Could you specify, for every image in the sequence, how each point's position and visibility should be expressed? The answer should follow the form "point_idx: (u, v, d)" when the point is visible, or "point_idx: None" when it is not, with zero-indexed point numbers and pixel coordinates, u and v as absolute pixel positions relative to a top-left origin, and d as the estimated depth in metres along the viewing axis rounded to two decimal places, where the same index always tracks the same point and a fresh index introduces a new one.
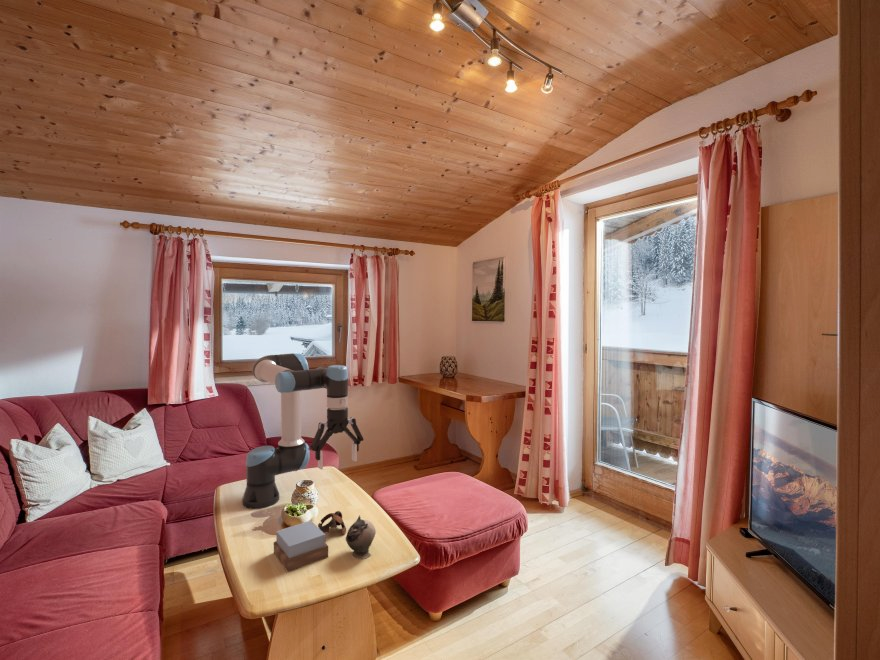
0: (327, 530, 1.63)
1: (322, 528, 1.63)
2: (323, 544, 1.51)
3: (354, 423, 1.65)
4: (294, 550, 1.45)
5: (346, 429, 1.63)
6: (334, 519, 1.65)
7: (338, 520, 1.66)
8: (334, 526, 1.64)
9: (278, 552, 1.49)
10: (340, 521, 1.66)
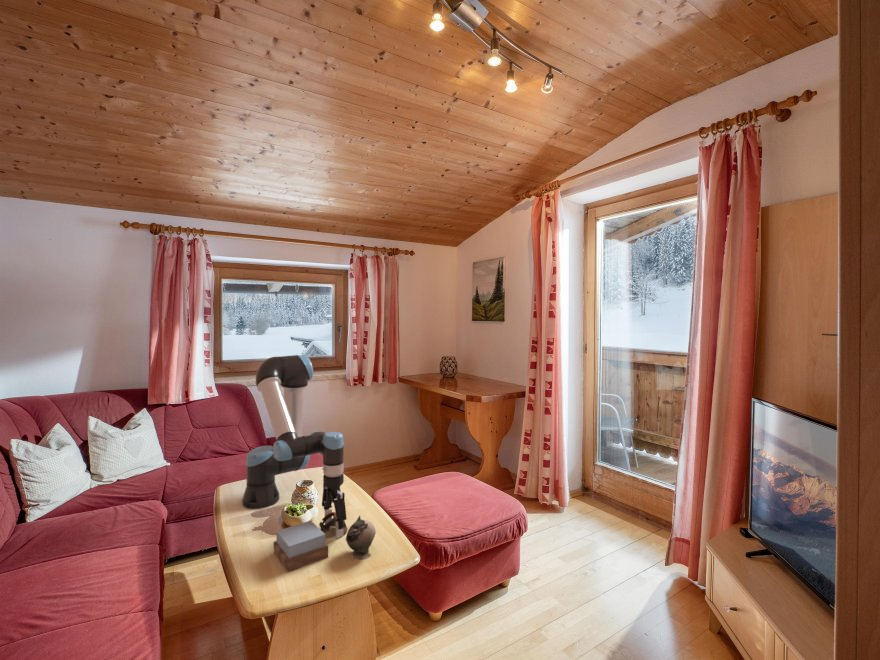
0: (328, 529, 1.63)
1: (323, 527, 1.64)
2: (323, 544, 1.51)
3: (337, 498, 1.62)
4: (294, 550, 1.45)
5: (332, 498, 1.65)
6: (335, 518, 1.66)
7: None
8: (335, 525, 1.64)
9: (278, 552, 1.49)
10: None
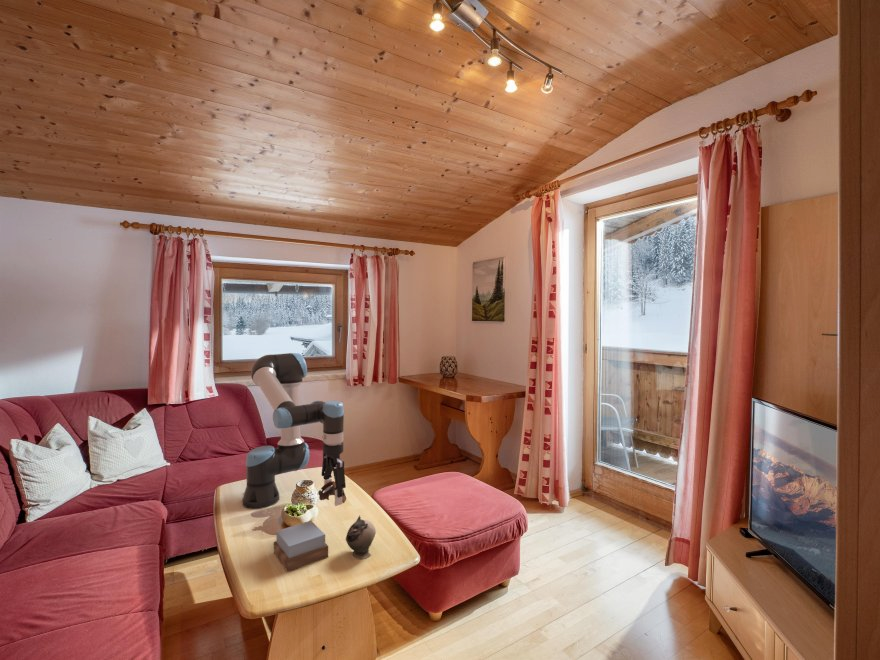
0: (326, 497, 1.63)
1: (322, 495, 1.64)
2: (323, 544, 1.51)
3: (337, 467, 1.62)
4: (294, 550, 1.45)
5: (331, 467, 1.65)
6: (334, 487, 1.66)
7: None
8: (334, 493, 1.64)
9: (278, 552, 1.49)
10: None
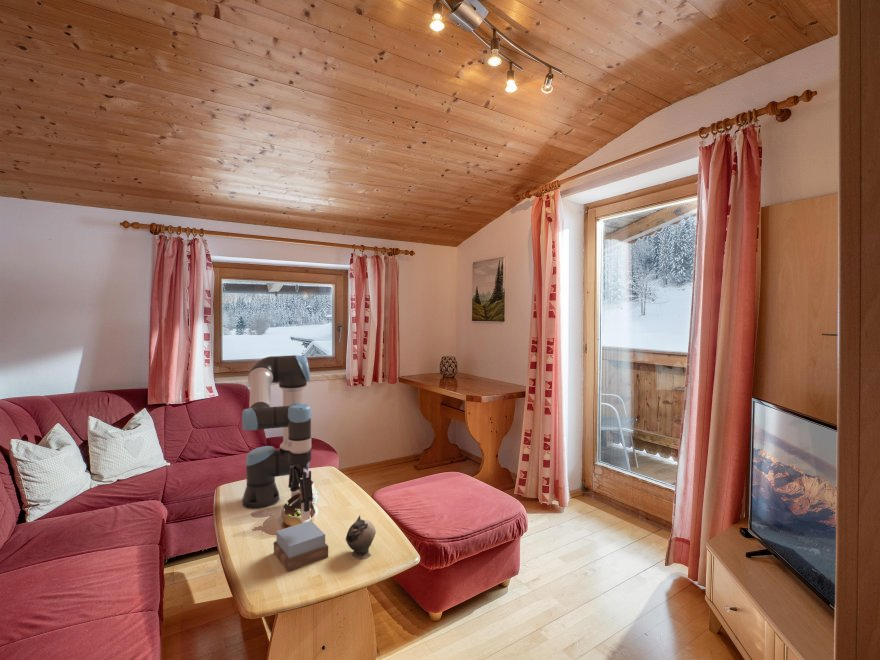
0: (292, 511, 1.47)
1: (287, 509, 1.47)
2: (323, 544, 1.51)
3: (303, 477, 1.46)
4: (294, 550, 1.45)
5: (297, 477, 1.48)
6: (301, 499, 1.49)
7: None
8: (300, 507, 1.47)
9: (278, 552, 1.49)
10: None
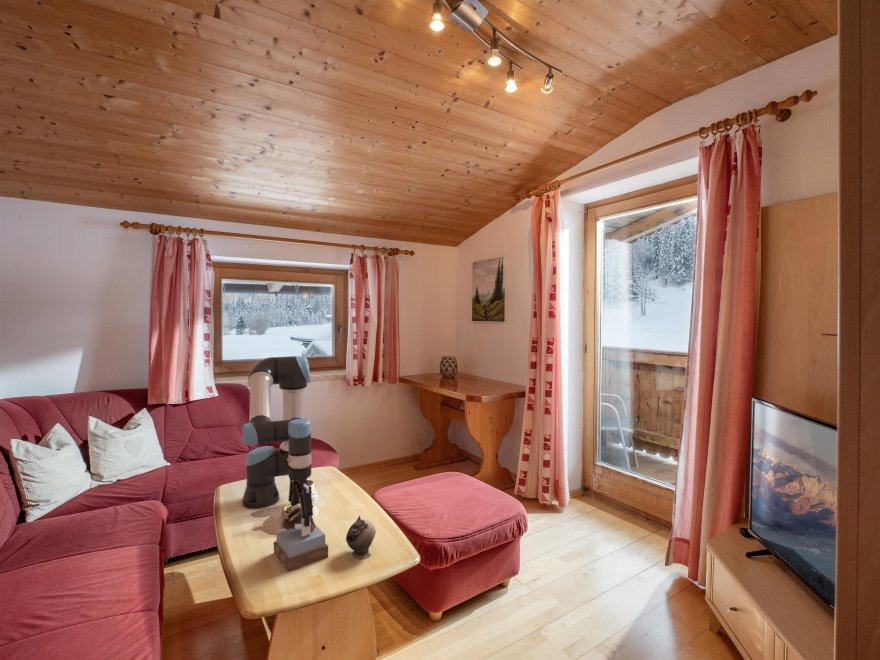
0: (292, 526, 1.47)
1: (287, 524, 1.48)
2: (323, 544, 1.51)
3: (303, 493, 1.46)
4: (294, 550, 1.45)
5: (297, 492, 1.49)
6: (301, 514, 1.49)
7: None
8: (300, 522, 1.48)
9: (278, 552, 1.49)
10: None
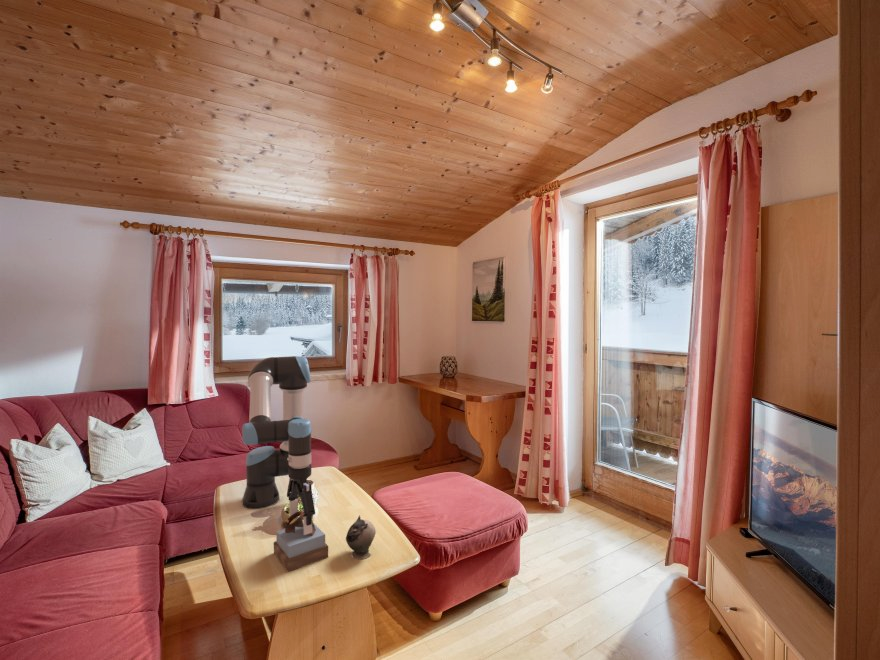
0: (292, 530, 1.47)
1: (287, 527, 1.48)
2: (323, 544, 1.51)
3: (303, 491, 1.46)
4: (294, 550, 1.45)
5: (298, 492, 1.48)
6: (301, 518, 1.49)
7: None
8: (300, 525, 1.48)
9: (278, 552, 1.49)
10: None
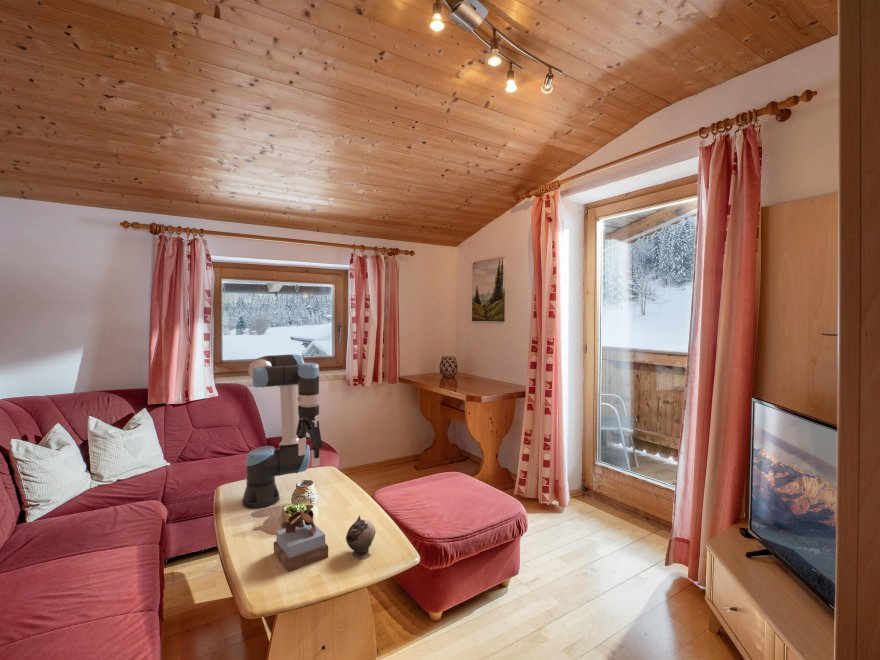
0: (293, 530, 1.47)
1: (288, 527, 1.48)
2: (323, 544, 1.51)
3: (312, 427, 1.58)
4: (294, 550, 1.45)
5: (307, 429, 1.61)
6: (302, 518, 1.49)
7: (306, 519, 1.50)
8: (301, 526, 1.48)
9: (278, 552, 1.49)
10: (308, 520, 1.50)
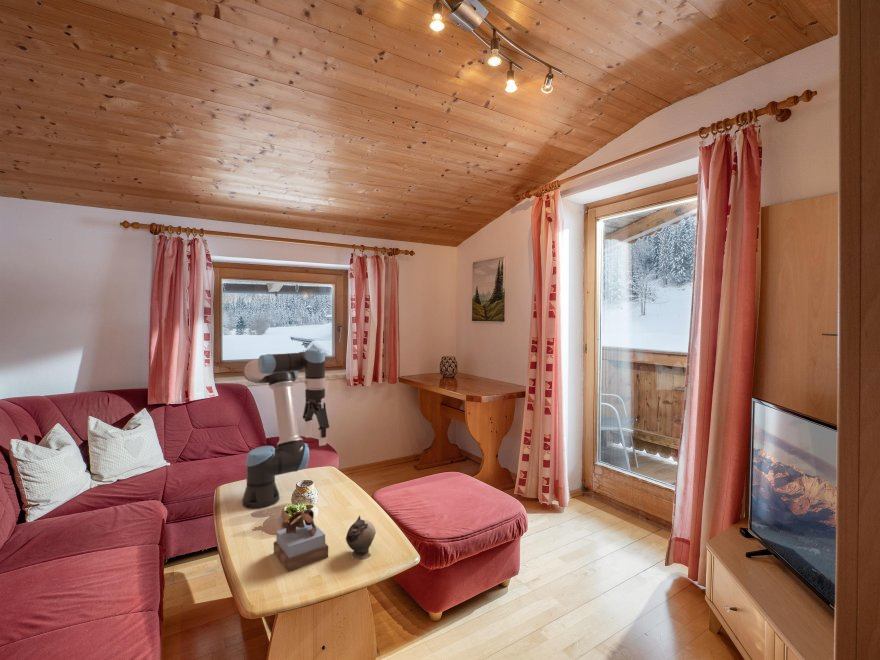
0: (293, 530, 1.47)
1: (288, 528, 1.47)
2: (323, 544, 1.51)
3: (318, 408, 1.69)
4: (294, 550, 1.45)
5: (314, 410, 1.71)
6: (302, 518, 1.49)
7: (307, 519, 1.50)
8: (301, 526, 1.47)
9: (278, 552, 1.49)
10: (309, 520, 1.50)
